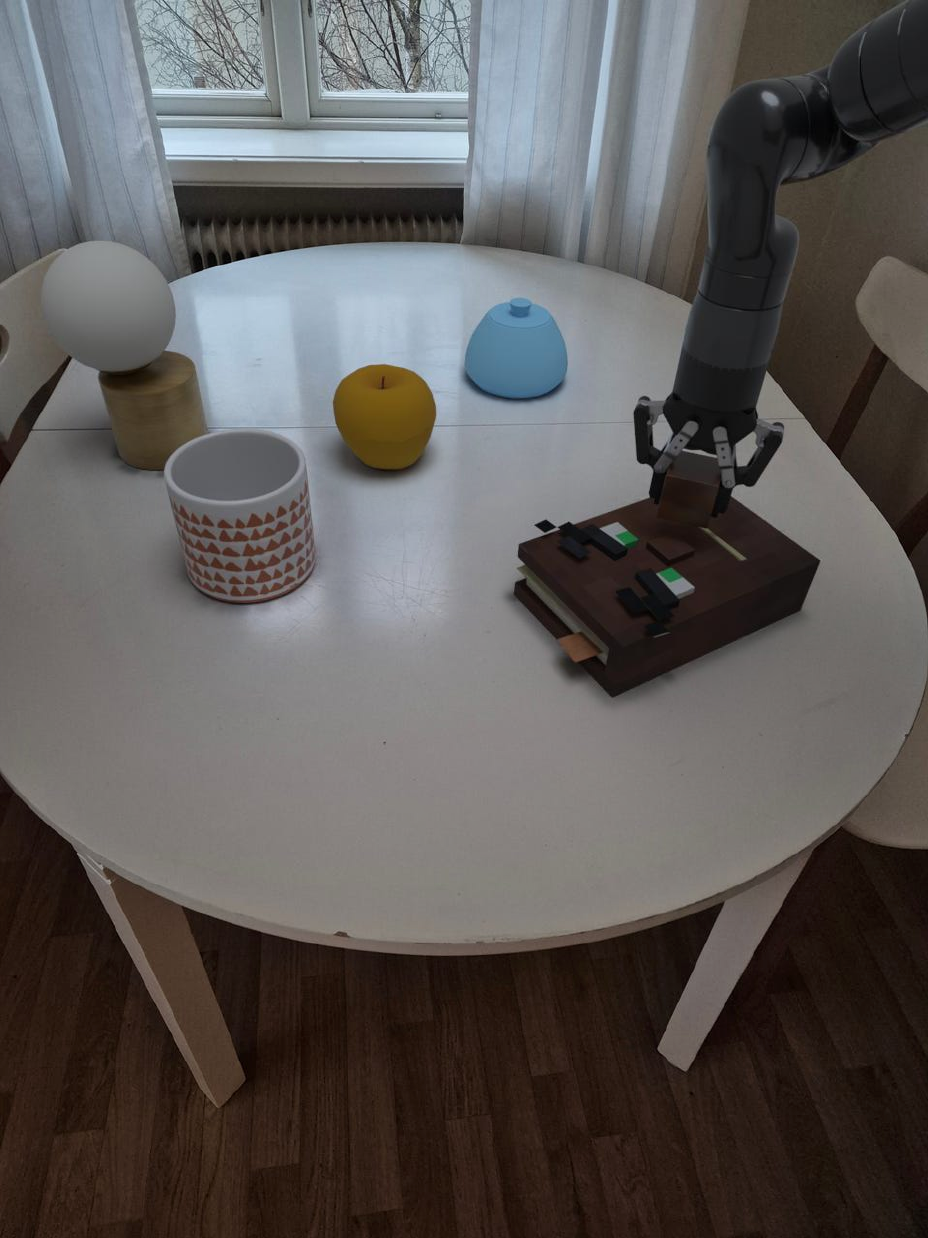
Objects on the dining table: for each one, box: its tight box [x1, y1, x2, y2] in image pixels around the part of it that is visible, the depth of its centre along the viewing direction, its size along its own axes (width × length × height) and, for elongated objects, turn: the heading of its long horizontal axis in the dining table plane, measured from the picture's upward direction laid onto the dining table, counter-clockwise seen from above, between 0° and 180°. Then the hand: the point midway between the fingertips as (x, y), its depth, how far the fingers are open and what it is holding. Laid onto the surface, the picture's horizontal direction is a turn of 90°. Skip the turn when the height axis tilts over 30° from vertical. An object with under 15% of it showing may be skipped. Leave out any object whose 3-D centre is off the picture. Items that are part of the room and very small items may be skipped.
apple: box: [332, 363, 437, 470], centre depth 106 cm, size 13×13×11 cm
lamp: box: [40, 240, 209, 471], centre depth 102 cm, size 15×14×25 cm
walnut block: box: [656, 450, 721, 529], centre depth 84 cm, size 5×5×5 cm
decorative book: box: [513, 495, 821, 698], centre depth 88 cm, size 19×8×30 cm
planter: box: [163, 428, 317, 604], centre depth 89 cm, size 14×14×13 cm
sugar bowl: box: [464, 297, 569, 400], centre depth 123 cm, size 15×15×12 cm
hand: (686, 506), depth 86 cm, fingers closed on walnut block, 5 cm apart
